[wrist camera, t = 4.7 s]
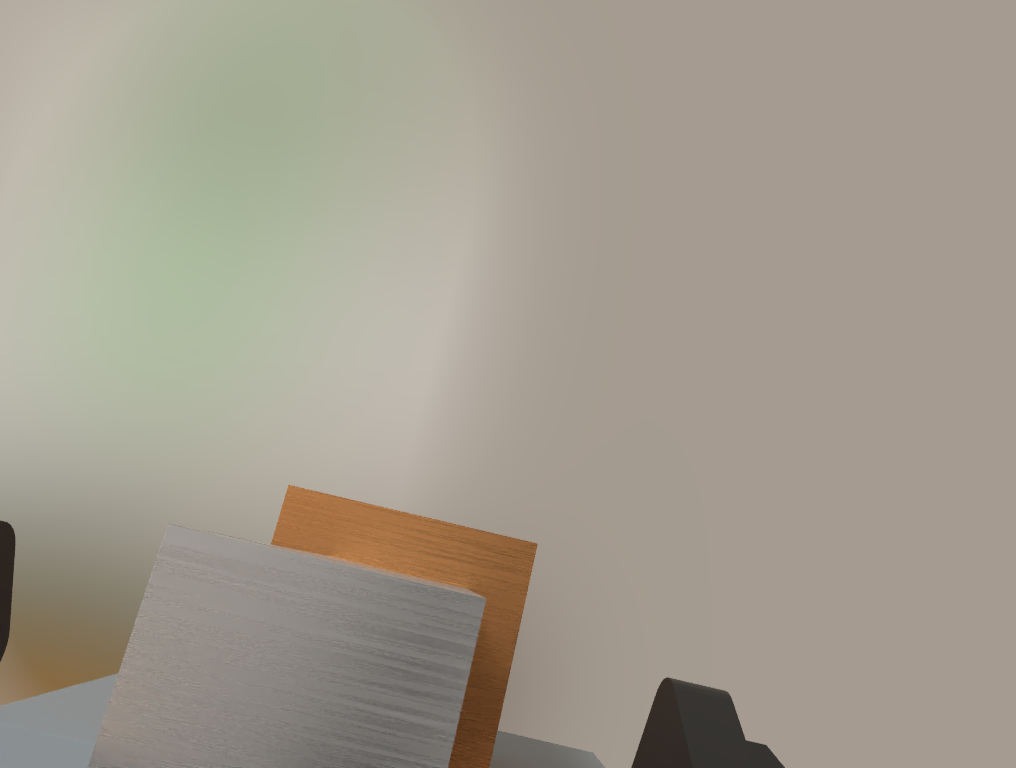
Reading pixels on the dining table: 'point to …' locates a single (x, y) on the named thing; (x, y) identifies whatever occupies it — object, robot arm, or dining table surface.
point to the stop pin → (321, 644)
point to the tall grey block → (81, 709)
